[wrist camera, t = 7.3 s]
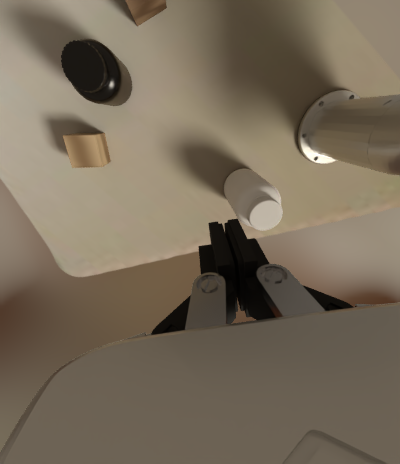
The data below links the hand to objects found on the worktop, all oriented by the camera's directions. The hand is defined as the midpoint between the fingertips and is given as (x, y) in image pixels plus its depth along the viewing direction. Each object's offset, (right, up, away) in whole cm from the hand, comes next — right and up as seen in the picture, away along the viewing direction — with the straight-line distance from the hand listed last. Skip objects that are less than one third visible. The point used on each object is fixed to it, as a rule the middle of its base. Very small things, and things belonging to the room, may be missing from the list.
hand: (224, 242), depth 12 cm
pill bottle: (+7, +10, +33) cm, 35 cm away
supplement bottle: (-16, +25, +22) cm, 37 cm away
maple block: (-21, +16, +27) cm, 38 cm away
